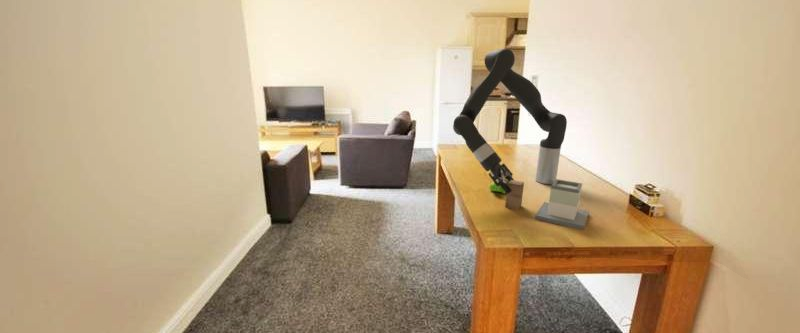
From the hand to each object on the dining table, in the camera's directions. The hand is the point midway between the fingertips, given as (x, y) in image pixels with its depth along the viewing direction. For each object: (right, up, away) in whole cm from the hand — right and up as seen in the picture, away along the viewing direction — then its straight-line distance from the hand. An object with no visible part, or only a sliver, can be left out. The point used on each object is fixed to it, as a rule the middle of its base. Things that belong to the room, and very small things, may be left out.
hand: (512, 189), depth 141 cm
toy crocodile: (+1, -2, +21) cm, 21 cm away
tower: (+16, -10, -8) cm, 20 cm away
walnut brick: (+1, -7, +1) cm, 7 cm away
